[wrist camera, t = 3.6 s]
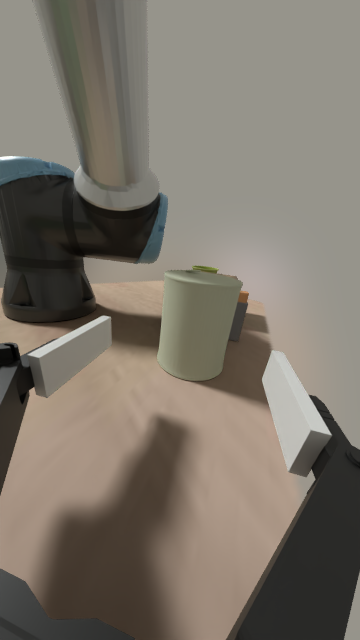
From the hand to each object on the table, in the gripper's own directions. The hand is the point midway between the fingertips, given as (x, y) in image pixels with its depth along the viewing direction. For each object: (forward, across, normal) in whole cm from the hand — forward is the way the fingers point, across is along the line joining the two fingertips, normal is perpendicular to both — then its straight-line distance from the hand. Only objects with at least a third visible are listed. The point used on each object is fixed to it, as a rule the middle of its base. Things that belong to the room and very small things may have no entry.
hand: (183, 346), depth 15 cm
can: (+9, 0, -7) cm, 12 cm away
